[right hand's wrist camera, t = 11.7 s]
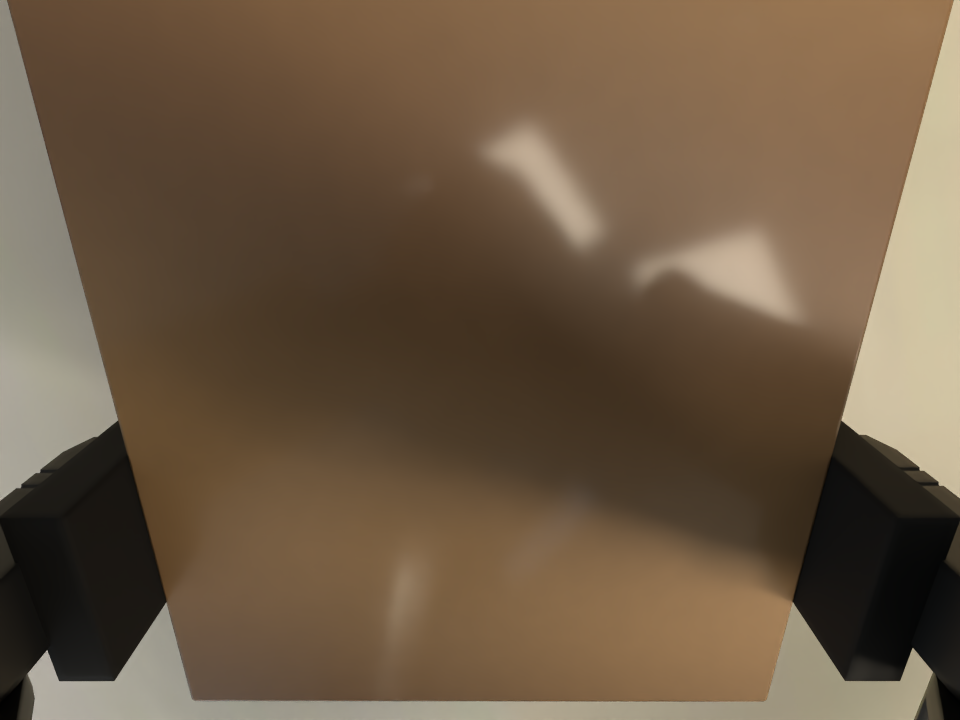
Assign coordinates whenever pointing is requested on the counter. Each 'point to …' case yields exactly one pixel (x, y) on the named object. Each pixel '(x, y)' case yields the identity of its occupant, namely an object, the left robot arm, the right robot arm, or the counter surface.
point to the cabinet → (479, 321)
